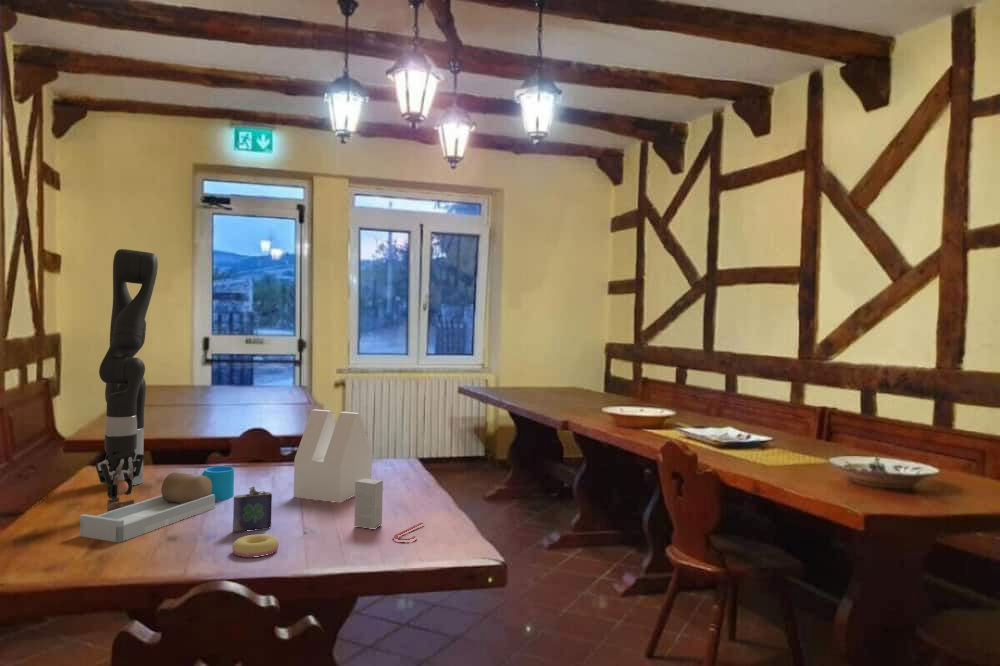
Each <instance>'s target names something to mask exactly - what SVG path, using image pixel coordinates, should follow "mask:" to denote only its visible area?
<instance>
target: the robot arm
mask: <svg viewBox="0 0 1000 666" xmlns="http://www.w3.org/2000/svg"><path fill="white" fill-rule="evenodd" d="M158 261H159V260H158V256H157V255H156V254H155V253H153V252H148V251H142V250H133V249H125V248H120V249H117V250H116V251H115V253H114V256H113V262H112V308H111V309H112V311H111V316H110V317H111V319H110V326H109V327H110V328H109V347H108V349H107V351H106V354H105V355H104V357H103V359H102V360H101V363H100V365H99V369H98V371H99V372H98V373H99V374H98V375H99V378H100V379H101V381H102V382H103V383H105V389H104V391H105V393H104V397H105V398H104V399H105V403H106V417H105V423H104V450H105V453H106V455H105V458H104V460H103V461H101V462H96V463H95V469H96V472H97V476H98V478H99V482H100V484H105V485H106V486H107V497H108V498H109V499H115V498H117V497H118V495H117V485H116V484H117V480H125V481H126V482H127V483H128V490H127V492H126V493H124V494H123V495H127V496H128V495H131V494H132V491H133V485H134V486H138V485H140V484H143V482H144V458H145V455H144V448H145V447H144V444H145V443H144V440H145V438H144V437H145V435H144V434H145V402H146V390H147V388H146V387H147V386H146V380H145V377H144V376H145V373H146V366H145V363H144V361H143V360H142V359H141V358H139V357H135V355H137V354H138V352H139V351H140V350H141V349H142V347H143V346H144V344H145V341H146V332H147V321H146V316H147V312H148V310H149V306H150V303H151V300H152V295H153V291H154V288H155V285H156V284H155V283H156V280H157V275H158V267H159V265H158V264H159V263H158ZM127 283H128V284H136V285H137V284H138V285H141V287H140V289H139V291H138V292H137V293H136V295H135V296H134V297H133V298H132V297H131V293H130V292H129V289H128V286H127ZM137 484H138V485H137Z"/></svg>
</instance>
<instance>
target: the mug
mask: <svg viewBox="0 0 1000 666" xmlns="http://www.w3.org/2000/svg"><path fill="white" fill-rule="evenodd" d="M200 475H201V476H207V477H208V478H209V479H210V480H211V483H212V492H211V494H215V502H216V501H226V500H229V498H230V499H232V498H234V497H235V495H234V493H235V492H234V491H235V489H234V487H235V485H234V484H235V467H233V466H229V465H226V466H225V465H219V466H210V467H206V468H205V469H204V470H203V472H202V473H201V474H200ZM225 499H226V500H225Z"/></svg>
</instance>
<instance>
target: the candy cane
mask: <svg viewBox="0 0 1000 666" xmlns="http://www.w3.org/2000/svg"><path fill="white" fill-rule="evenodd" d="M421 524H424V522H419V523H417V524H415V525H412V526H411V527H408V528H406V529H404V530H402V531H401V532H398V533H396V534H394V535H393V536H394V538H395V539H398V540H410V539H414V538H415V537H417V536H415V535H413V536H411V537H409V538H402V537H401V538H398V535H401V534H403V533H405V532H407V531H409V530H411V529H413V528H415V527H417V526H419V525H421Z"/></svg>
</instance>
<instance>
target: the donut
mask: <svg viewBox="0 0 1000 666" xmlns="http://www.w3.org/2000/svg"><path fill="white" fill-rule="evenodd" d="M279 546H280V542H279V540H278V538H277V537H276V536H273V535H271V534H264V533H263V534H262V533H261V534H250V535H245V536H244V535H243V536H241V537H239V538H237V539H236V540H235V541H234V542H233V544H232V547H231V549H232V552H233V554H234V555H235V556H237V555H238V556H237V557H239V556H243V557H242V558H244V557H254V556H261V555H266V554H270V553H272V552H274V551H275V552H276V551H277V550H278V548H279ZM275 552H274V553H275ZM272 554H273V553H272ZM270 555H271V554H270Z"/></svg>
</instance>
